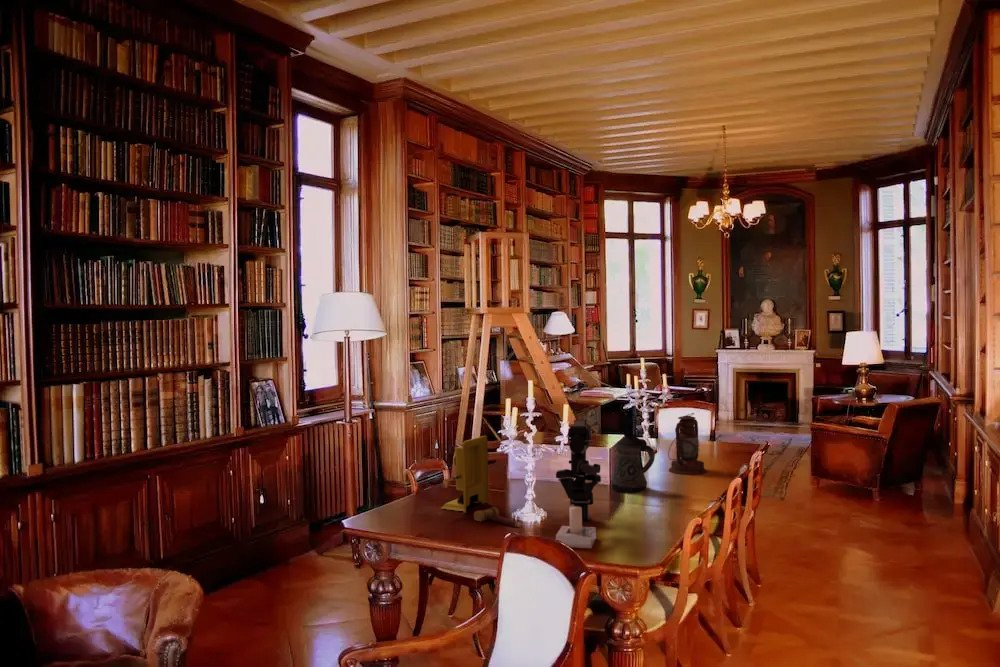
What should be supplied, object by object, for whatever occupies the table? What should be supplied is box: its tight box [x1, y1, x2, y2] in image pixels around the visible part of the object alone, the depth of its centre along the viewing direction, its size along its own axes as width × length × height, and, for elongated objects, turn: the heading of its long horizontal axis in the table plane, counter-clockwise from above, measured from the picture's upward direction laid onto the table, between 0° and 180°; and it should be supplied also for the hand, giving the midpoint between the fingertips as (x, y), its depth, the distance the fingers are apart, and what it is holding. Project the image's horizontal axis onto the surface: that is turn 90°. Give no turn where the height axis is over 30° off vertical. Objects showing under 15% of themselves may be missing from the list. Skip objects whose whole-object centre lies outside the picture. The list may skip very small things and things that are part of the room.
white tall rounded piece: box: [568, 505, 583, 534], centre depth 280 cm, size 4×4×12 cm
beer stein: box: [610, 434, 656, 494], centre depth 361 cm, size 16×19×25 cm
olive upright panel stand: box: [440, 435, 494, 514], centre depth 336 cm, size 31×14×30 cm, turn 149°
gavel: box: [473, 506, 520, 528], centre depth 308 cm, size 21×5×10 cm
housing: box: [555, 525, 597, 549], centre depth 280 cm, size 12×12×4 cm
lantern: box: [667, 412, 708, 476], centre depth 397 cm, size 19×19×30 cm
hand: (578, 499), depth 292 cm, fingers open, 9 cm apart
